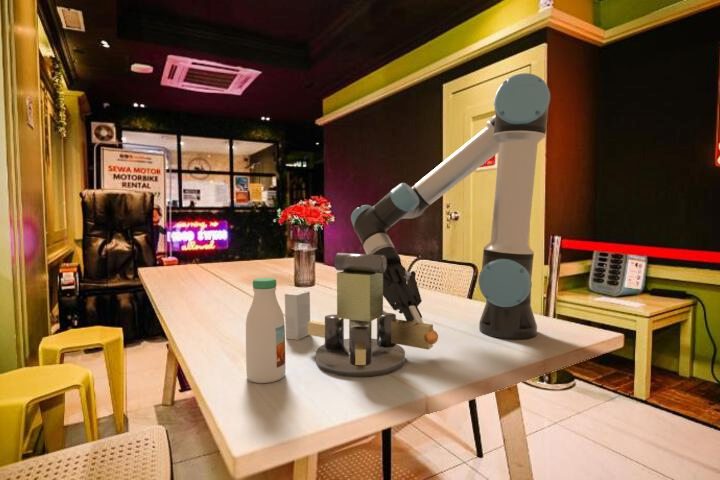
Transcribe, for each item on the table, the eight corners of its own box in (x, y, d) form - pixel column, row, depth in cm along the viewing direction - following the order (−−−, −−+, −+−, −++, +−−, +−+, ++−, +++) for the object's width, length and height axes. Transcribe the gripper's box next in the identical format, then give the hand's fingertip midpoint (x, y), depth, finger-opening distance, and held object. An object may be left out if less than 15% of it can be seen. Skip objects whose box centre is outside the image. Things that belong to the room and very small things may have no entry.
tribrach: (417, 353, 100) (417, 251, 99) (378, 389, 79) (378, 262, 78) (328, 339, 111) (328, 248, 109) (274, 369, 90) (272, 256, 88)
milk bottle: (266, 387, 81) (264, 283, 79) (238, 379, 85) (236, 280, 83) (293, 374, 87) (292, 278, 86) (266, 367, 91) (264, 275, 90)
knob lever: (373, 345, 98) (373, 315, 98) (382, 340, 102) (382, 311, 101) (433, 356, 90) (434, 324, 90) (441, 351, 94) (441, 320, 94)
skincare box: (297, 332, 117) (297, 289, 117) (310, 334, 115) (310, 291, 115) (284, 338, 112) (284, 293, 111) (298, 340, 110) (297, 295, 109)
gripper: (396, 261, 118) (435, 336, 105) (355, 264, 111) (391, 344, 98) (408, 244, 113) (450, 320, 100) (366, 246, 106) (405, 327, 93)
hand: (421, 332), depth 99 cm, fingers closed
